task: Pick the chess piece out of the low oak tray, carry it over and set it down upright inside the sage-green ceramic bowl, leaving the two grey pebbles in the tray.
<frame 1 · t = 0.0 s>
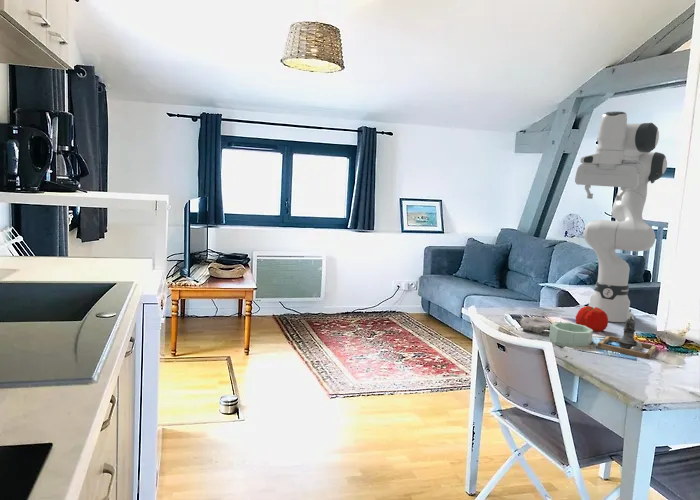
hand: (603, 199, 195), 48 cm above the table, fingers open, 8 cm apart
chess piece: (626, 352, 182), resting in oak tray
bowl: (569, 343, 188), on the table
oak tray: (626, 351, 182), on the table
pebble b: (640, 353, 177), point 1 cm above the table, tilted 75°
tomato: (590, 331, 205), on the table
fossil: (535, 331, 202), on the table
pebble a: (642, 346, 183), point 2 cm above the table, tilted 98°
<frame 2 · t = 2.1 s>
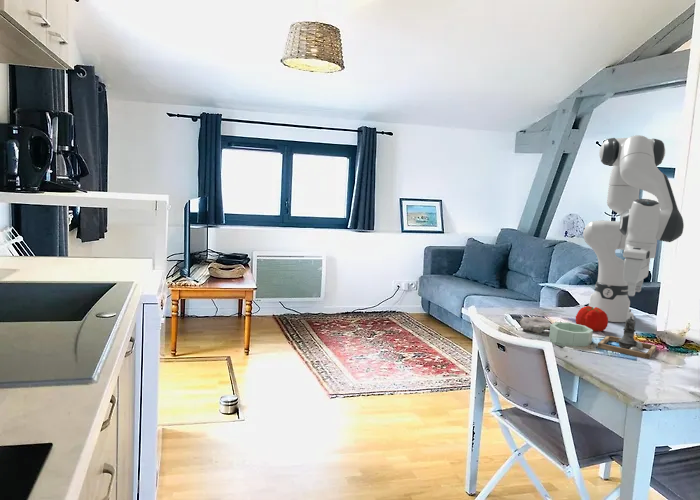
hand: (634, 293, 179), 19 cm above the table, fingers open, 8 cm apart
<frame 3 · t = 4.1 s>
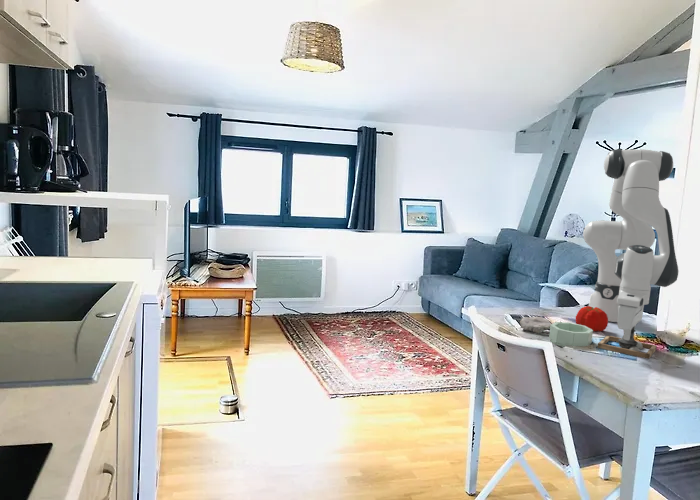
hand: (628, 338, 182), 5 cm above the table, fingers closed on chess piece, 3 cm apart
chess piece: (626, 352, 182), resting in oak tray, touching gripper
everything else where it was.
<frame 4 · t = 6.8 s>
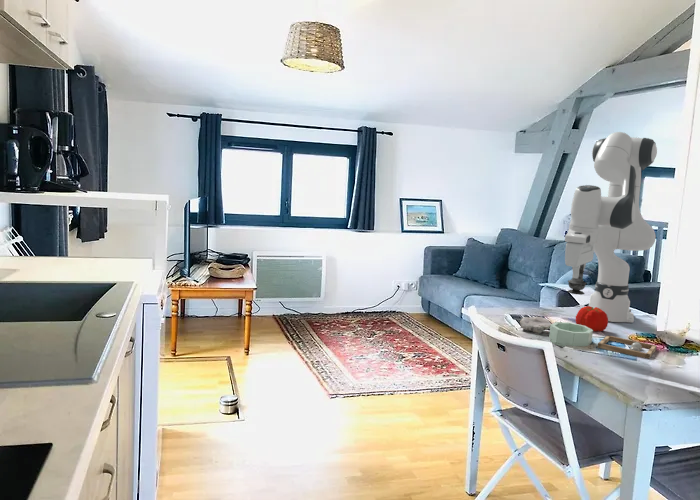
hand: (577, 277, 185), 23 cm above the table, fingers closed on chess piece, 3 cm apart
chess piece: (575, 293, 186), point 17 cm above the table, touching gripper
pebble a: (641, 348, 182), point 2 cm above the table, tilted 95°
everything else where it was.
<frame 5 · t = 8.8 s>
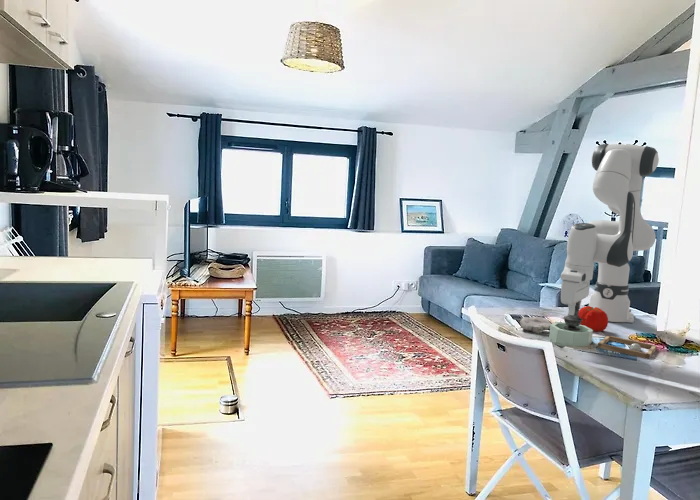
hand: (573, 313, 187), 10 cm above the table, fingers closed on chess piece, 3 cm apart
chess piece: (571, 329, 187), point 5 cm above the table, touching gripper
pebble a: (640, 349, 180), point 2 cm above the table, tilted 95°
everything else where it was.
when the fingers open (8 cm above the table, at t = 9.8 s): chess piece drops 1 cm, resting on bowl.
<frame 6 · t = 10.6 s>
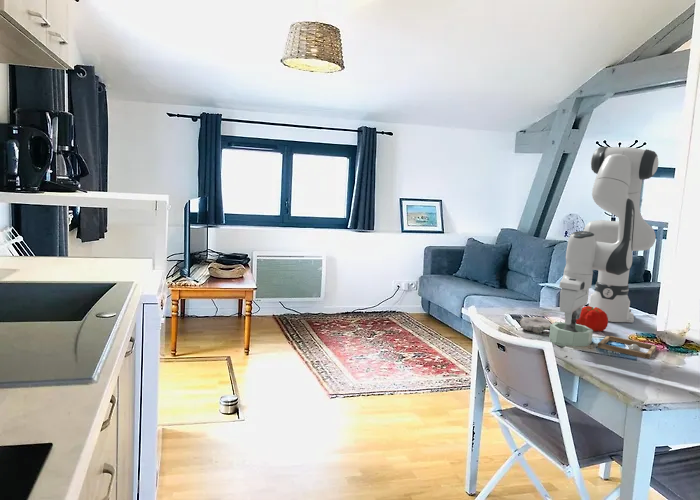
hand: (572, 321, 187), 8 cm above the table, fingers open, 8 cm apart
chess piece: (568, 342, 186), point 1 cm above the table, touching bowl
pebble a: (639, 350, 179), point 2 cm above the table, tilted 92°
everything else where it was.
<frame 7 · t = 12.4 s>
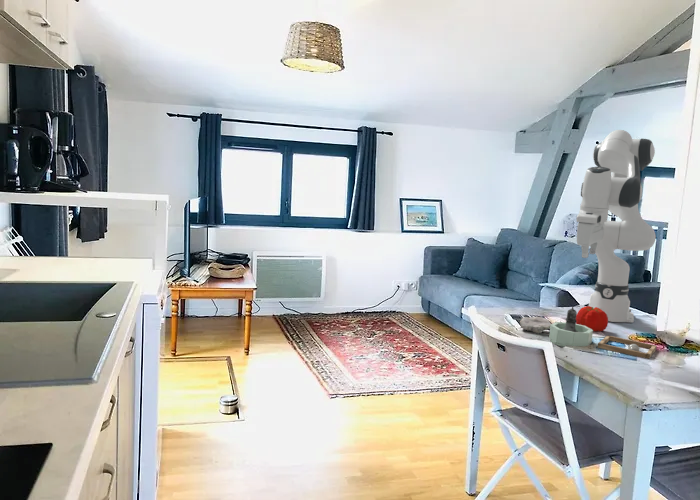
hand: (588, 255, 192), 29 cm above the table, fingers open, 8 cm apart
pebble b: (639, 353, 177), point 1 cm above the table, tilted 84°
pebble a: (638, 349, 179), point 2 cm above the table, tilted 99°
everything else where it was.
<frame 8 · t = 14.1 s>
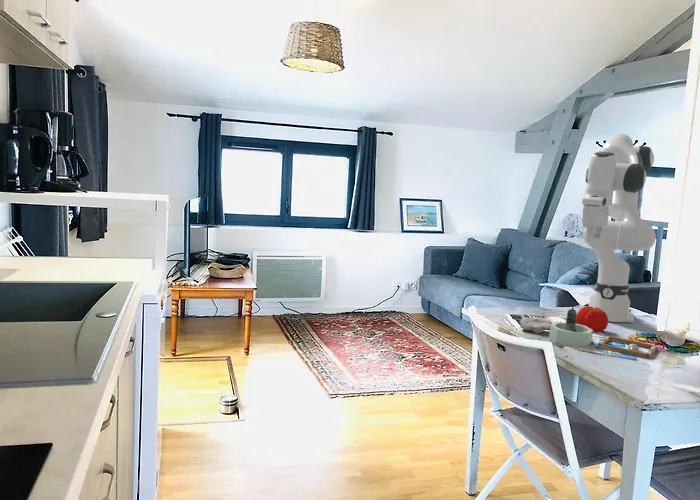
hand: (593, 239, 195), 34 cm above the table, fingers open, 8 cm apart
pebble a: (638, 348, 180), point 2 cm above the table, tilted 105°
everything else where it was.
at the end: chess piece inside the target area on the bowl (2.0 cm from its centre), point 0.8 cm above the bowl's base; chess piece tilted 0°; the gripper is holding nothing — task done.
